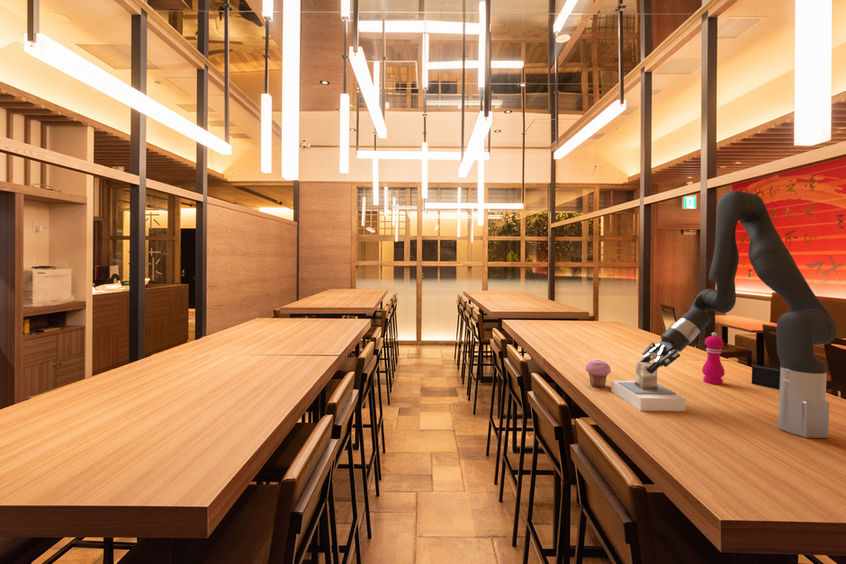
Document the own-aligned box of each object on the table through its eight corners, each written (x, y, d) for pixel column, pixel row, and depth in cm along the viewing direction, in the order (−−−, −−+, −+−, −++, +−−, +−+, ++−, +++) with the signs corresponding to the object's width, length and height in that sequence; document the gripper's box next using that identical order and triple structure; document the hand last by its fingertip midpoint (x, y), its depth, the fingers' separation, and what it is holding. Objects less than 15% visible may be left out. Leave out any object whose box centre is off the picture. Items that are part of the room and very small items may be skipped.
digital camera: (791, 388, 150) (792, 370, 149) (785, 391, 147) (786, 372, 147) (757, 382, 159) (758, 364, 158) (751, 384, 156) (752, 366, 156)
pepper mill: (723, 381, 158) (724, 331, 158) (725, 386, 152) (726, 334, 152) (701, 379, 162) (702, 330, 162) (702, 383, 156) (703, 332, 156)
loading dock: (685, 411, 125) (685, 397, 125) (640, 410, 125) (640, 396, 125) (649, 391, 145) (650, 379, 145) (611, 391, 145) (611, 379, 145)
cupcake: (585, 387, 149) (586, 361, 149) (584, 381, 158) (584, 356, 157) (611, 390, 146) (612, 363, 146) (609, 383, 155) (609, 358, 154)
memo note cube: (657, 389, 132) (658, 365, 132) (642, 389, 132) (643, 365, 132) (649, 385, 137) (649, 362, 137) (634, 385, 137) (635, 362, 137)
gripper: (660, 323, 141) (625, 357, 142) (686, 330, 127) (647, 366, 127) (674, 338, 141) (640, 371, 142) (702, 346, 127) (663, 383, 127)
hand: (643, 369), depth 135 cm, fingers open, 5 cm apart
